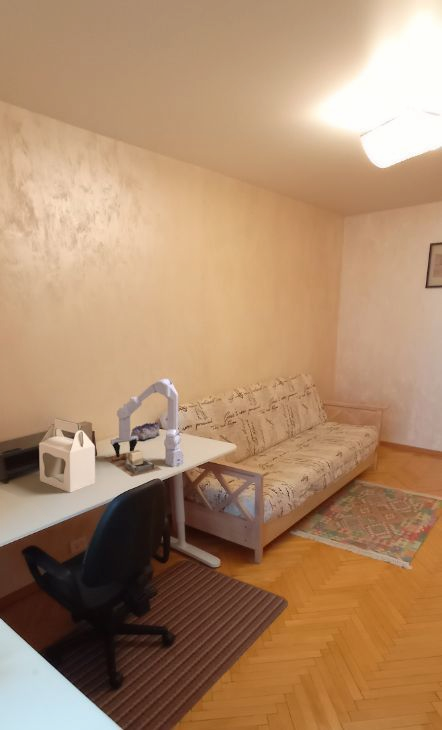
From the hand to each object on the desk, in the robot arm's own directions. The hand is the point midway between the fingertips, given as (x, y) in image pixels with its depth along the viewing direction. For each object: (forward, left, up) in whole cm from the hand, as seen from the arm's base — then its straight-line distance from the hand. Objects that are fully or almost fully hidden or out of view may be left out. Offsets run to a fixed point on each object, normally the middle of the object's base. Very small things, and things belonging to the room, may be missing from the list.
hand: (124, 455), depth 215 cm
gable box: (-11, +33, -3) cm, 35 cm away
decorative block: (+11, +19, -3) cm, 22 cm away
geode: (+33, -30, -3) cm, 45 cm away
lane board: (-8, 0, -3) cm, 9 cm away
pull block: (-6, 0, -2) cm, 6 cm away
